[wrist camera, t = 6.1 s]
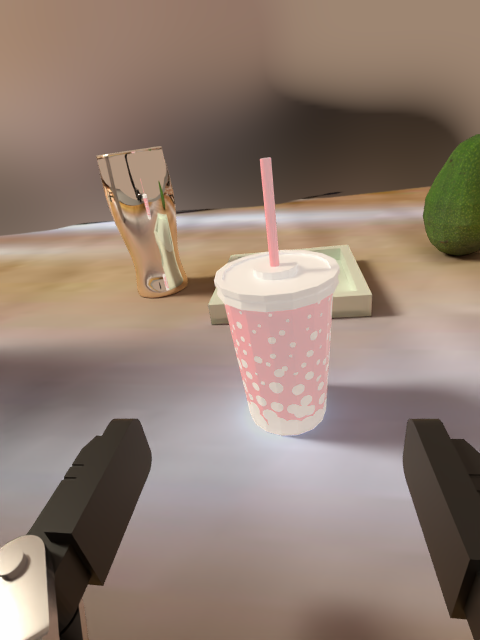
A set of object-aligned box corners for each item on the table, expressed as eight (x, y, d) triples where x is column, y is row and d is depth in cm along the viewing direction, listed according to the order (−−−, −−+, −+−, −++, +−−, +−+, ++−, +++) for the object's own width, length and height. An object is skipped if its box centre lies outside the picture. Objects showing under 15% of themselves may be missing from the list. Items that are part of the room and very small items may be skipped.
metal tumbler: (202, 284, 41) (175, 143, 34) (149, 305, 38) (106, 154, 31) (175, 272, 47) (147, 148, 40) (126, 290, 43) (85, 157, 36)
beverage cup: (339, 452, 18) (340, 155, 12) (226, 441, 20) (171, 175, 13) (339, 378, 23) (339, 144, 17) (249, 374, 25) (218, 159, 18)
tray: (211, 324, 32) (208, 305, 31) (233, 270, 44) (231, 255, 43) (371, 315, 30) (372, 294, 29) (347, 261, 42) (347, 244, 41)
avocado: (518, 254, 37) (550, 126, 32) (457, 270, 36) (479, 138, 30) (456, 237, 44) (474, 130, 38) (403, 250, 43) (413, 141, 37)
